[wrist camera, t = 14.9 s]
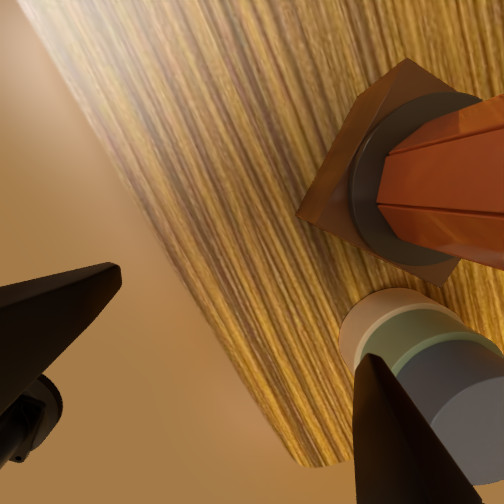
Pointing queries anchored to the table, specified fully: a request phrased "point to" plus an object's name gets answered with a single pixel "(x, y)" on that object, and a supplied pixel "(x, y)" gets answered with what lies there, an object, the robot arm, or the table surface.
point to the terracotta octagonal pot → (450, 184)
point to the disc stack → (436, 372)
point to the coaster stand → (380, 167)
